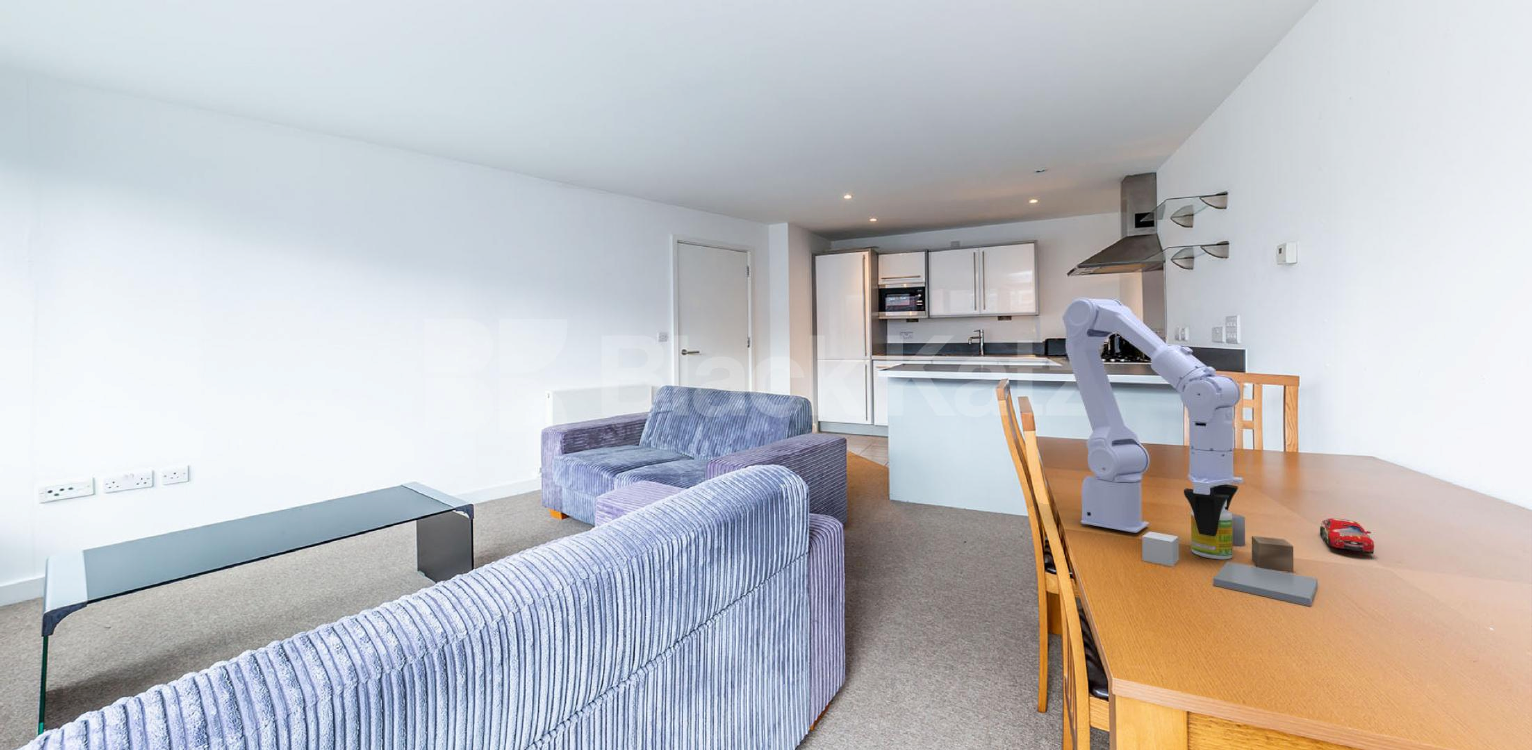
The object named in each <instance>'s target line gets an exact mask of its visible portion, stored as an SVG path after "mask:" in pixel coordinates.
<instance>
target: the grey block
mask: <svg viewBox="0 0 1532 750" xmlns="http://www.w3.org/2000/svg"><path fill="white" fill-rule="evenodd" d="M1179 537H1180V536H1178V535H1172V534H1168V533H1167V534H1166V533H1163V532H1162V533H1161V532H1157V531H1156V532H1155V531H1148V532H1147V533H1145V534H1144V535H1142V540H1141V541H1142V542H1141V543H1142V546H1141V548H1142V549H1141V551H1142V554H1141V555H1142V557H1141V558H1142V560H1141V561H1142V562H1147V563H1151V564H1152V563H1153V564H1157V565H1162V566H1168V567H1174V566H1175V565H1176V564H1177V563H1178V562H1179V561H1180V558H1179V557H1180V555H1179V554H1180V550H1179V549H1180V547H1179V546H1180V544H1179V543H1180V540H1179Z"/></svg>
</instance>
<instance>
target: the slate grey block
mask: <svg viewBox="0 0 1532 750" xmlns="http://www.w3.org/2000/svg"><path fill="white" fill-rule="evenodd" d="M1231 514H1232V525H1233V547H1244V546H1246V517H1245V516H1243V515H1240V514H1235V513H1231Z"/></svg>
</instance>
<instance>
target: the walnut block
mask: <svg viewBox="0 0 1532 750" xmlns="http://www.w3.org/2000/svg"><path fill="white" fill-rule="evenodd" d="M1251 561H1252V563H1254V564H1255V566H1257V567H1258V568H1263V569H1269V570H1274V571H1279V572H1285V573H1294V546H1293V545H1292V544H1291V543H1290V542H1289V541H1287V540H1286V539H1285V538H1276V537H1275V538H1274V537H1265V536H1255V535H1252V536H1251Z"/></svg>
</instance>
